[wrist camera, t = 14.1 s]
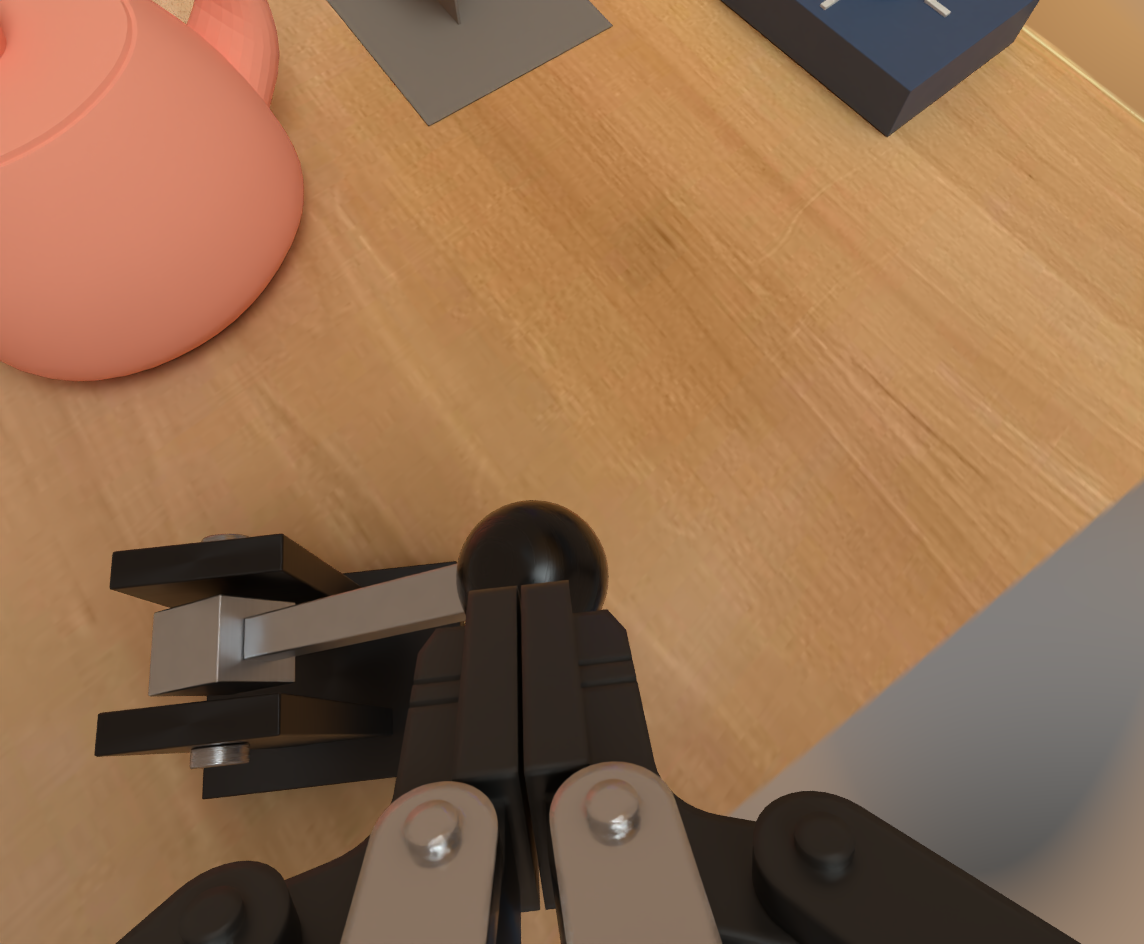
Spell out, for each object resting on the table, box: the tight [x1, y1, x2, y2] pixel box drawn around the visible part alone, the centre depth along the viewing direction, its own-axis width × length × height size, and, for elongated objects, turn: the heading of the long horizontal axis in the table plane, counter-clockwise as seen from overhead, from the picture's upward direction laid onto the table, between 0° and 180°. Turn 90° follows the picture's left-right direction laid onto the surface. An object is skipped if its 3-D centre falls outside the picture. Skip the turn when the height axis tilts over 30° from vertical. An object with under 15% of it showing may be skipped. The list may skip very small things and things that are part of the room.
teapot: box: [0, 0, 304, 381], centre depth 32 cm, size 25×17×13 cm
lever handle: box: [148, 500, 609, 696], centre depth 18 cm, size 13×3×3 cm, turn 96°
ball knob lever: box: [95, 534, 464, 799], centre depth 25 cm, size 10×8×13 cm
